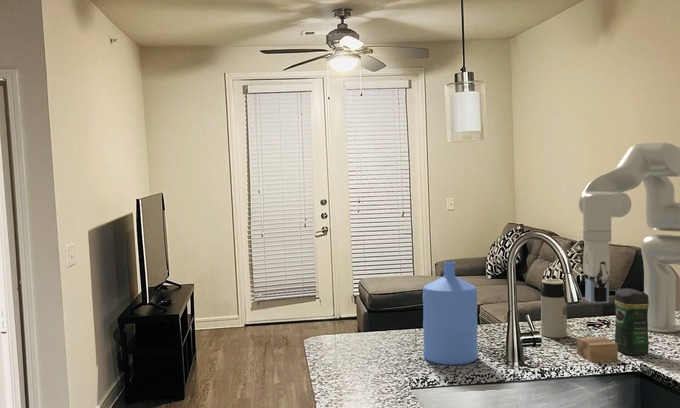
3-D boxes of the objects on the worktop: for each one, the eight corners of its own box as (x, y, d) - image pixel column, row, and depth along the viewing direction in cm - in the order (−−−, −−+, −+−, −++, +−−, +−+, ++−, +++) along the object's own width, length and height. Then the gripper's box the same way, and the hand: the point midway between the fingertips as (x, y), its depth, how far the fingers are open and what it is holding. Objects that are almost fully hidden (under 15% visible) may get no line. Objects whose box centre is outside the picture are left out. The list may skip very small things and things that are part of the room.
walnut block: (577, 354, 194) (577, 338, 193) (603, 353, 194) (603, 336, 194) (590, 362, 186) (590, 345, 185) (617, 361, 186) (617, 343, 186)
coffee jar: (653, 355, 191) (654, 291, 190) (627, 356, 190) (628, 292, 189) (634, 346, 200) (635, 286, 199) (610, 348, 199) (610, 287, 198)
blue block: (603, 299, 192) (603, 279, 191) (608, 303, 187) (608, 282, 186) (585, 299, 192) (585, 279, 192) (590, 303, 187) (590, 282, 187)
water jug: (486, 363, 186) (485, 265, 184) (432, 367, 183) (431, 267, 182) (466, 349, 201) (465, 258, 200) (416, 352, 198) (415, 260, 197)
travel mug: (536, 335, 216) (536, 280, 215) (549, 331, 221) (549, 277, 220) (558, 339, 210) (558, 283, 209) (571, 335, 215) (571, 280, 214)
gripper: (575, 233, 197) (575, 294, 198) (593, 239, 180) (592, 305, 181) (600, 233, 197) (600, 294, 197) (621, 239, 180) (621, 305, 180)
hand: (597, 298), depth 189 cm, fingers closed on blue block, 5 cm apart
